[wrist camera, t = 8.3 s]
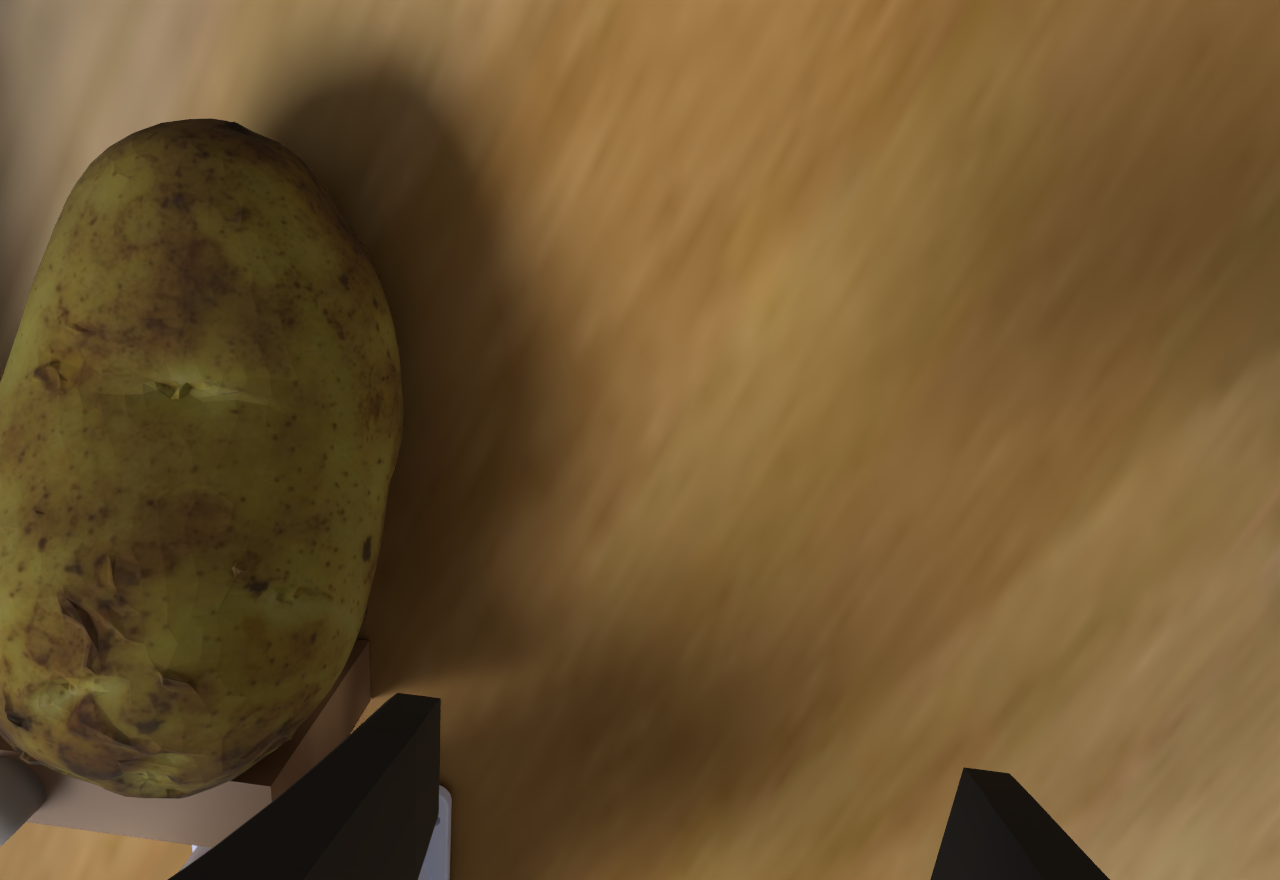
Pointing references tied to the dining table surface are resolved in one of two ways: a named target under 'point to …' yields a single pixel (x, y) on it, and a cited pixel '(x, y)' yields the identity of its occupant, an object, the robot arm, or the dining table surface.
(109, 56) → the dining table surface
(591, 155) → the dining table surface
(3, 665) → the potato
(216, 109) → the dining table surface
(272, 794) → the cradle
